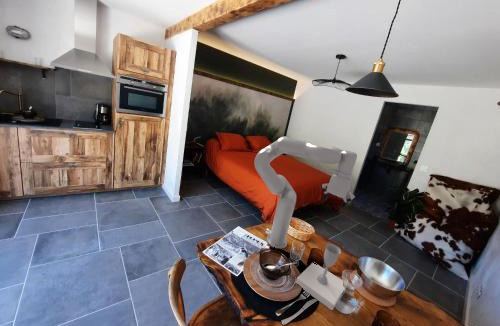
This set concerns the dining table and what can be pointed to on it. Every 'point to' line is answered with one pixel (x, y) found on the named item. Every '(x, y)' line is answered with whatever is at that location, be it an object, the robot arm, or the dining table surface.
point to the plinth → (321, 292)
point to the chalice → (329, 261)
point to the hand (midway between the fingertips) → (333, 204)
